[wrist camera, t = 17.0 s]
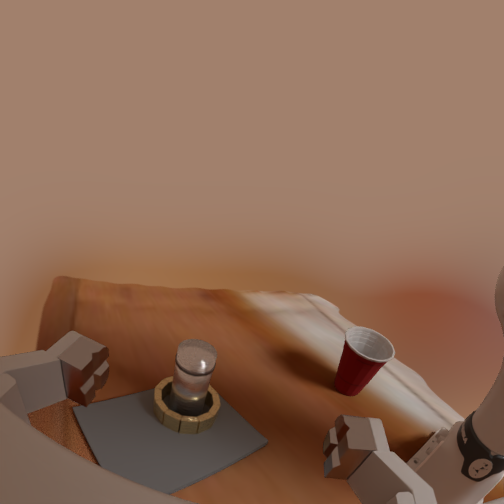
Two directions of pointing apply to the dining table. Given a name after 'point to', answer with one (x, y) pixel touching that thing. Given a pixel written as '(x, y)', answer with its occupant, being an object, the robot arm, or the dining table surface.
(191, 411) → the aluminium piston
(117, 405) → the rubber mat
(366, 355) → the plastic cup
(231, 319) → the dining table surface
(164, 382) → the brass collar
